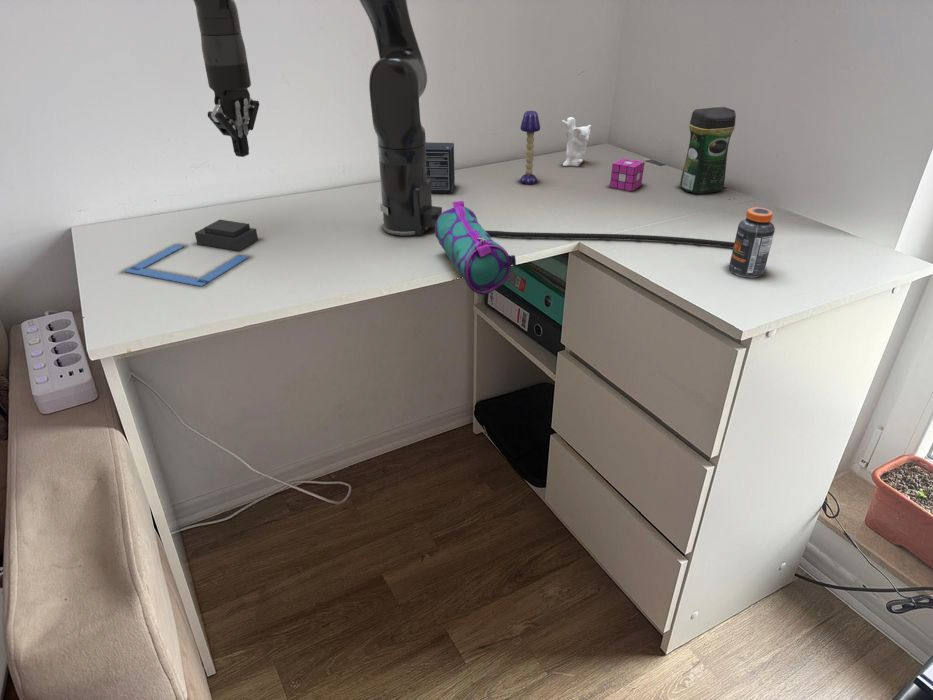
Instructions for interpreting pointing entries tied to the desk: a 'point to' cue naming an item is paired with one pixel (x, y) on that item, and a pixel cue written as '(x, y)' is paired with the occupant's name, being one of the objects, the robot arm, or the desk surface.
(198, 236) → the dark raised-panel slab
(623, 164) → the puzzle toy
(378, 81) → the robot arm
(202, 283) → the frame
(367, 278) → the desk surface
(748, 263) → the pill bottle
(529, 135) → the toy lamp
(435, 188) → the small box
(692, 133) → the coffee jar
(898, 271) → the desk surface
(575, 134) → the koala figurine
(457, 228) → the pencil case
